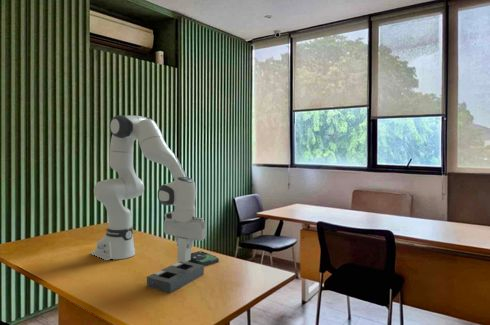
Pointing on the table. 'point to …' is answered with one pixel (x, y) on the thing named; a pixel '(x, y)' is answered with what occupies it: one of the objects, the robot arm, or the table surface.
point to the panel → (175, 276)
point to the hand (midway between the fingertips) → (184, 247)
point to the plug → (183, 250)
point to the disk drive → (203, 258)
